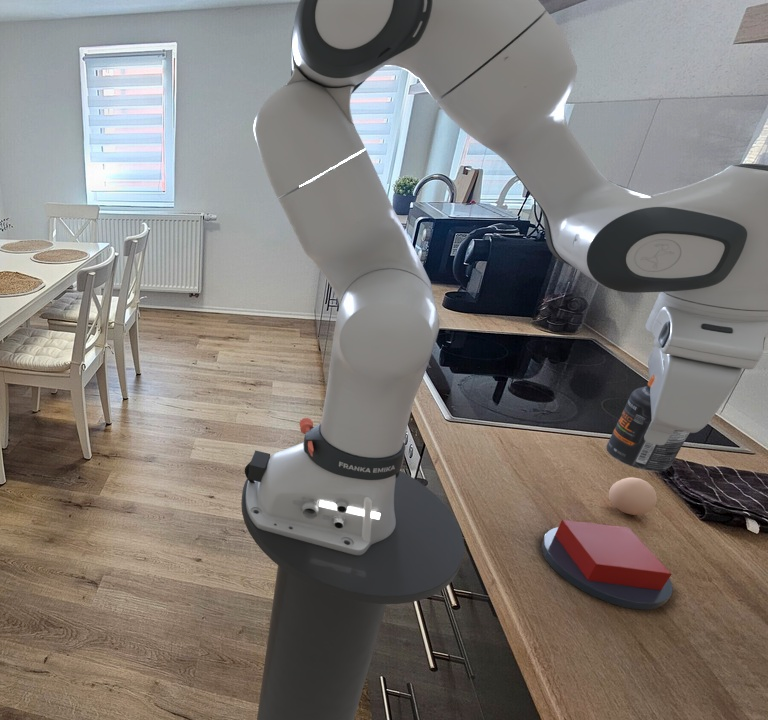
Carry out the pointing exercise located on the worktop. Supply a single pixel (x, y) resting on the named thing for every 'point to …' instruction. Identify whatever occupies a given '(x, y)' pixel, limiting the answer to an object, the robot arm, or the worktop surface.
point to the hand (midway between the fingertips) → (652, 427)
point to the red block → (612, 555)
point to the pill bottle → (642, 436)
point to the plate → (603, 591)
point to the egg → (633, 496)
